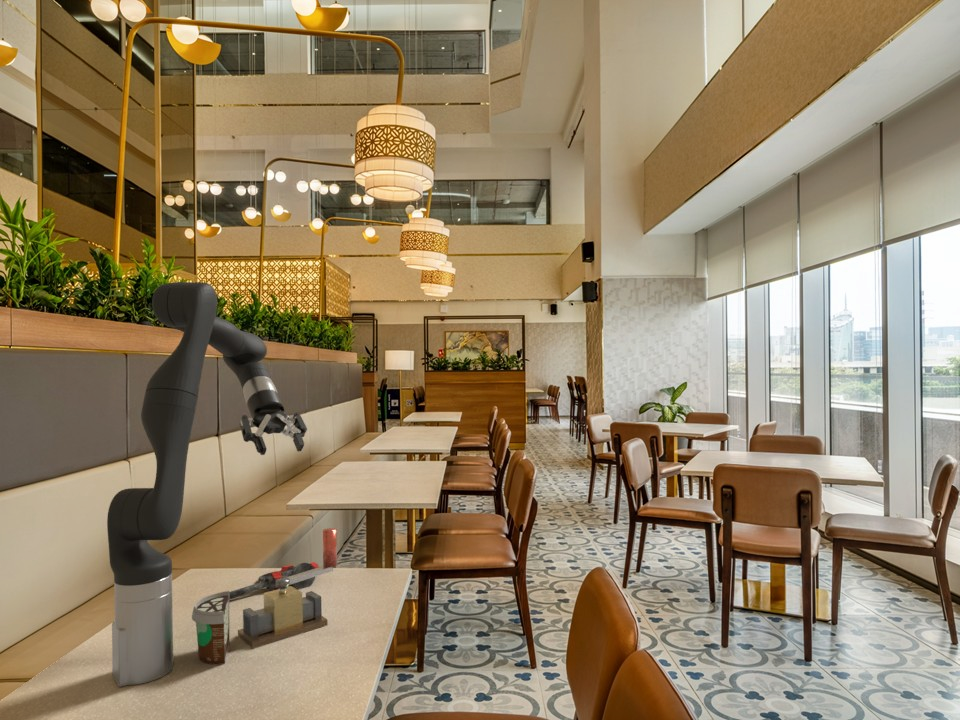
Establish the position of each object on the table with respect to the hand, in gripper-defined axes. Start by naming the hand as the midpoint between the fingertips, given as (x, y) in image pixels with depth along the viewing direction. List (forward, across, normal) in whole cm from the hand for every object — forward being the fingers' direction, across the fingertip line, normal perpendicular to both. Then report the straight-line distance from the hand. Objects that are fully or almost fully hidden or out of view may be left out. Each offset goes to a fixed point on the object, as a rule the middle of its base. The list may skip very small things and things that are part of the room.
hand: (282, 450), depth 137 cm
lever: (+24, +2, +14) cm, 28 cm away
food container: (+33, -19, +19) cm, 42 cm away
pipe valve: (+32, -4, +20) cm, 38 cm away
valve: (+12, +4, +40) cm, 42 cm away
